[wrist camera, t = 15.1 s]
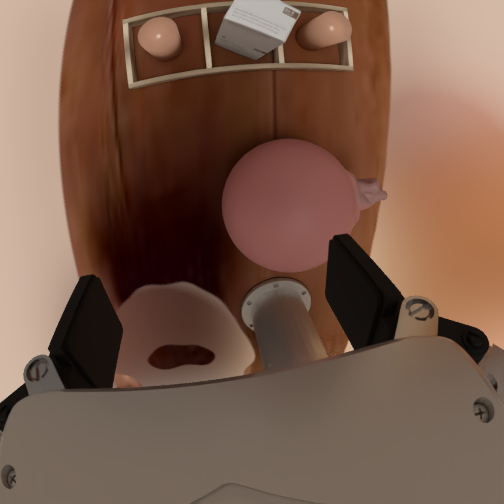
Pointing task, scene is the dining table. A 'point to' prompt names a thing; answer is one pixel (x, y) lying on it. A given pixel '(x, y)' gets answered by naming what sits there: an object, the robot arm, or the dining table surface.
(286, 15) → the skincare box
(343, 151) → the dining table surface
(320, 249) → the balloon
